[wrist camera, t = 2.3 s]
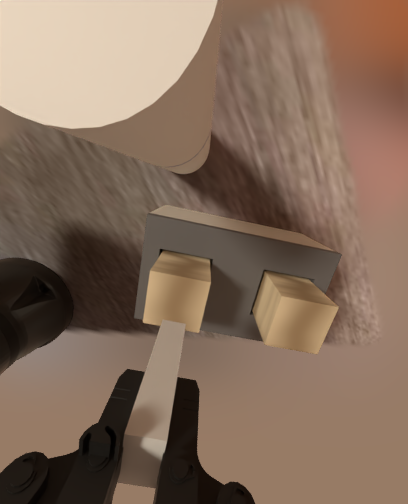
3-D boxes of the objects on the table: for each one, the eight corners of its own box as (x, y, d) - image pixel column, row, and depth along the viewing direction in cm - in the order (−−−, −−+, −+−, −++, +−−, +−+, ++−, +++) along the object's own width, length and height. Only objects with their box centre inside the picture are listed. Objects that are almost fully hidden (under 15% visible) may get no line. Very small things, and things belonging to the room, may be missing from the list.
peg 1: (161, 282, 26) (142, 322, 19) (167, 243, 25) (150, 270, 17) (201, 290, 27) (198, 332, 19) (209, 252, 25) (211, 282, 17)
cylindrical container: (202, 179, 29) (187, 161, 5) (151, 167, 29) (-112, 84, 5) (215, 122, 27) (284, -325, 3) (160, 107, 27) (-221, -531, 3)
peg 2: (247, 299, 27) (264, 344, 19) (259, 262, 25) (281, 296, 18) (286, 306, 27) (317, 354, 19) (299, 270, 26) (338, 307, 18)
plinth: (154, 280, 34) (134, 317, 24) (165, 204, 30) (147, 214, 21) (275, 303, 35) (301, 348, 25) (300, 233, 31) (342, 254, 22)
